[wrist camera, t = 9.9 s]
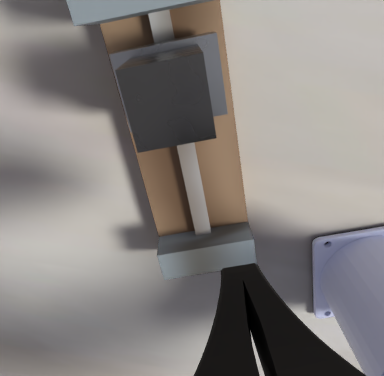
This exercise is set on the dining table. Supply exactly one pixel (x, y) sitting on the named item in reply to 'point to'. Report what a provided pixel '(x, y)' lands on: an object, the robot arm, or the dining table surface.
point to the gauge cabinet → (119, 9)
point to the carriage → (171, 90)
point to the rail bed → (192, 162)
